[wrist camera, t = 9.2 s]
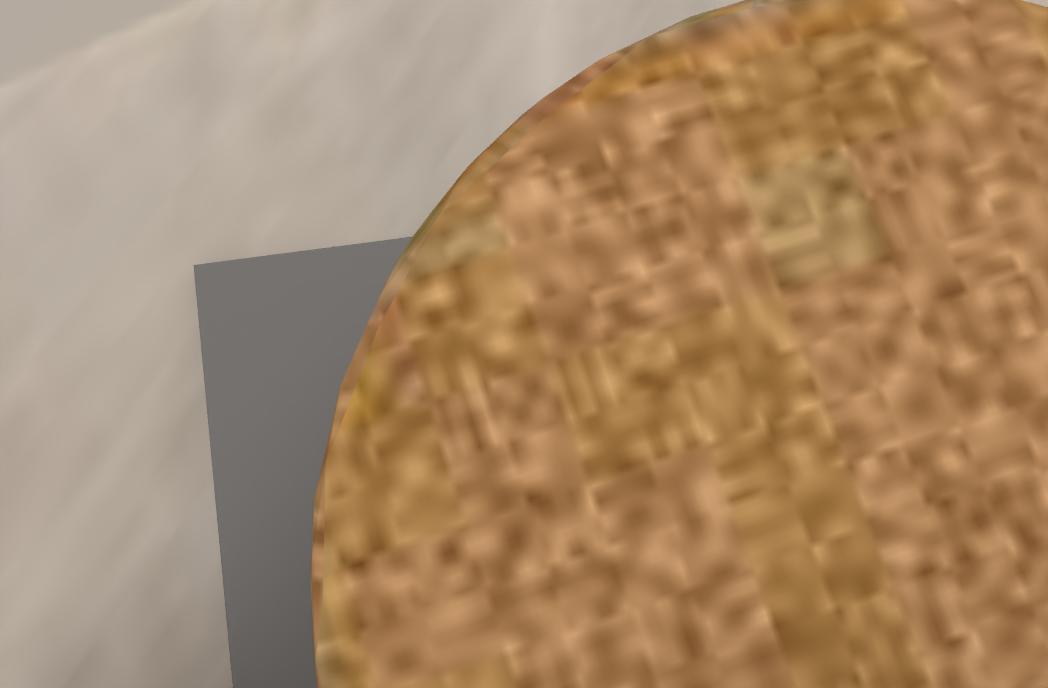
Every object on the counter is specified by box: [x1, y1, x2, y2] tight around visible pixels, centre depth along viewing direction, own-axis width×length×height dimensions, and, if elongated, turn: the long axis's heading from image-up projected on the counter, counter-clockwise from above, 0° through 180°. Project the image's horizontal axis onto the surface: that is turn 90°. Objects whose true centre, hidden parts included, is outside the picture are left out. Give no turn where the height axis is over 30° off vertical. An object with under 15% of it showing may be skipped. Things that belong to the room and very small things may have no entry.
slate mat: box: [194, 237, 412, 688], centre depth 18 cm, size 12×12×1 cm
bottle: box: [311, 0, 1048, 688], centre depth 11 cm, size 6×6×15 cm
